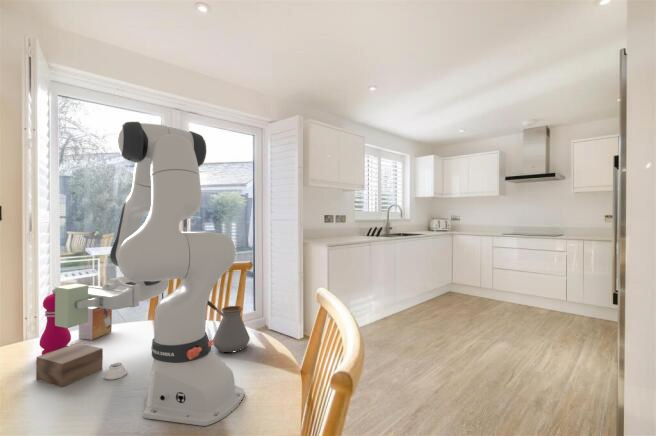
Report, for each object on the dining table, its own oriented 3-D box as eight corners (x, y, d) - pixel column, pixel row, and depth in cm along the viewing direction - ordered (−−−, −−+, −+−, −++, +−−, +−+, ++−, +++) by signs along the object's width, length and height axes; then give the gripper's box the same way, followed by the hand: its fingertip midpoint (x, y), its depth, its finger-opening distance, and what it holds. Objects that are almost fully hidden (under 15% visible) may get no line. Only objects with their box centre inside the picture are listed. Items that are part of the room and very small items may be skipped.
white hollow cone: (131, 372, 89) (114, 370, 89) (131, 361, 89) (114, 360, 89) (116, 381, 84) (99, 379, 85) (116, 370, 84) (99, 368, 84)
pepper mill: (32, 358, 95) (33, 290, 95) (58, 348, 102) (59, 284, 102) (52, 361, 93) (52, 292, 93) (76, 351, 100) (77, 286, 100)
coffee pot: (257, 346, 108) (257, 300, 107) (230, 359, 98) (231, 309, 97) (212, 333, 118) (212, 291, 118) (184, 343, 108) (184, 298, 108)
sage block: (87, 322, 88) (88, 285, 88) (67, 328, 83) (68, 289, 83) (75, 319, 90) (75, 283, 90) (54, 325, 85) (55, 287, 85)
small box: (91, 340, 109) (92, 309, 109) (78, 338, 110) (78, 307, 110) (112, 332, 117) (112, 302, 117) (99, 330, 118) (99, 301, 118)
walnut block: (102, 370, 90) (102, 348, 90) (62, 388, 80) (62, 364, 80) (77, 363, 93) (77, 342, 93) (36, 380, 84) (36, 356, 84)
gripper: (94, 278, 102) (43, 288, 89) (143, 285, 95) (95, 295, 82) (94, 299, 102) (42, 311, 89) (142, 306, 95) (94, 320, 82)
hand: (68, 303), depth 86 cm, fingers closed on sage block, 5 cm apart
